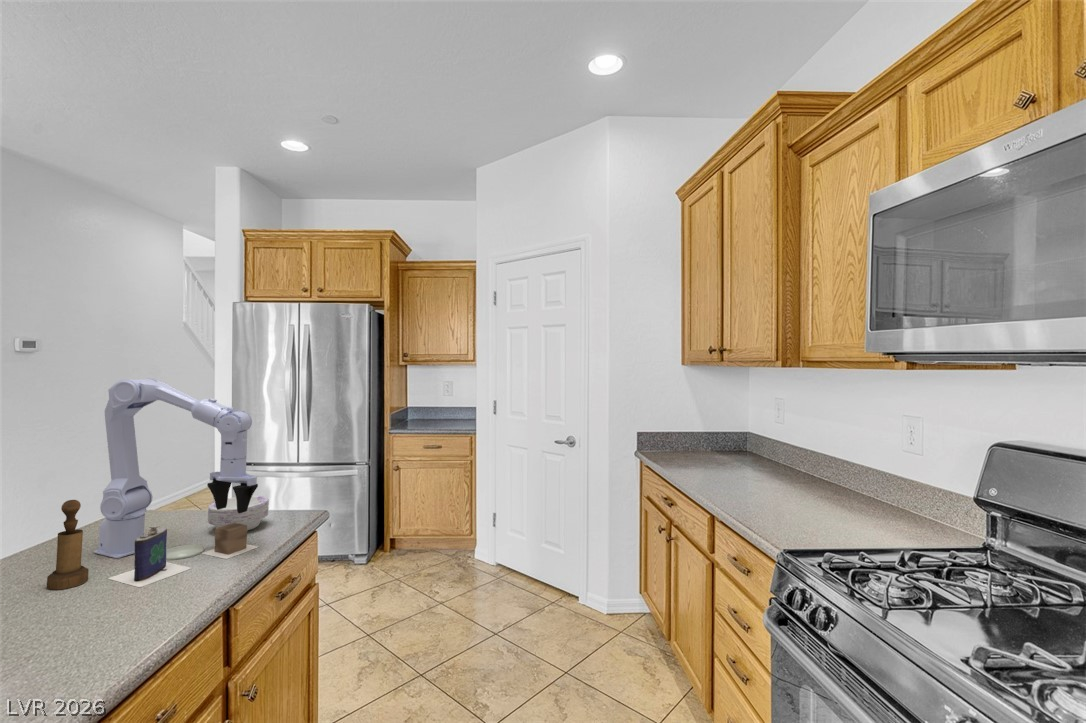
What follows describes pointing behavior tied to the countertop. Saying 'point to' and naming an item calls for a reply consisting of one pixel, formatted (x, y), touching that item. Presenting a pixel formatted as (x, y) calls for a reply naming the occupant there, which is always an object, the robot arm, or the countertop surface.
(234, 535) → the walnut block
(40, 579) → the countertop surface
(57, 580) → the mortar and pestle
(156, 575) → the code tile
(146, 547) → the flask
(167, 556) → the plate
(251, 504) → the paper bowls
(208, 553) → the code tile
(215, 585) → the countertop surface
